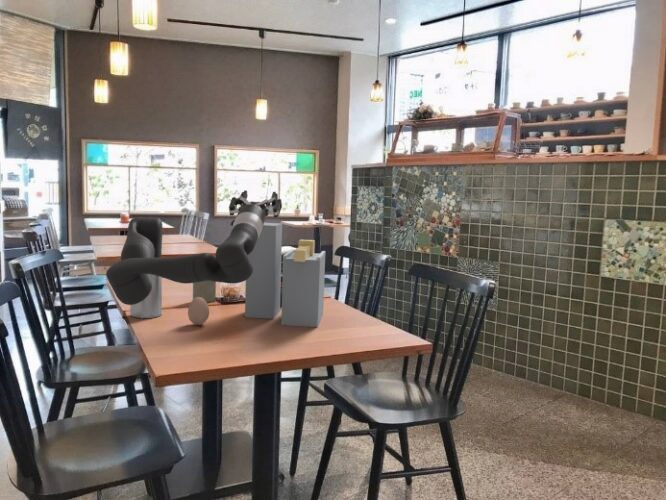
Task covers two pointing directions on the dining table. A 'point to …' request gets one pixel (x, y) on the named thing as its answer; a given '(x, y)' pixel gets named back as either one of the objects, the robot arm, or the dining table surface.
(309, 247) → the brass stop bar
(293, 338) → the dining table surface
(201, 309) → the egg
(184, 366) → the dining table surface
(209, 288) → the padlock
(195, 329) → the dining table surface
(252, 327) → the dining table surface
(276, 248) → the slate post and ledge
